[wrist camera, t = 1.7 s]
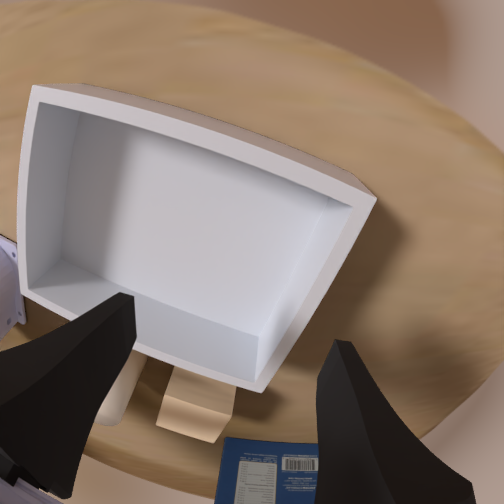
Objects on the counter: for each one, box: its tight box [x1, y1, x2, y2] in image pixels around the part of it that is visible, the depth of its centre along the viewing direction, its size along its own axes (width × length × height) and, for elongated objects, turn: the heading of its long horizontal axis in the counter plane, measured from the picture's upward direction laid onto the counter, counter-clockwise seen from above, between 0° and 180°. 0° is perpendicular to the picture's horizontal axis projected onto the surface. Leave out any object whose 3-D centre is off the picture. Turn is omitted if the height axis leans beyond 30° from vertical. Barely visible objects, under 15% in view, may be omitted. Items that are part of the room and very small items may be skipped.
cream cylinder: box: [94, 349, 148, 426], centre depth 22 cm, size 5×5×7 cm
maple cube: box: [156, 366, 236, 443], centre depth 24 cm, size 5×5×5 cm
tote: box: [17, 84, 377, 393], centre depth 17 cm, size 18×14×5 cm
